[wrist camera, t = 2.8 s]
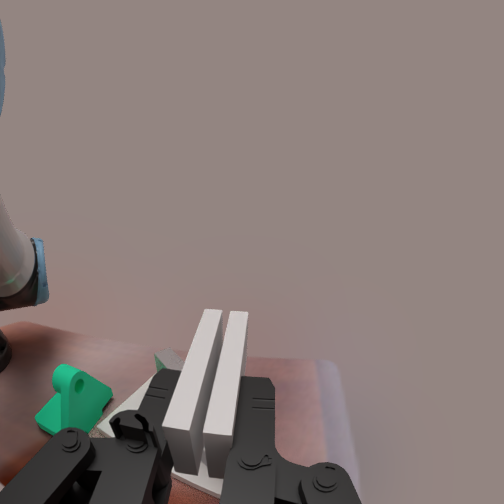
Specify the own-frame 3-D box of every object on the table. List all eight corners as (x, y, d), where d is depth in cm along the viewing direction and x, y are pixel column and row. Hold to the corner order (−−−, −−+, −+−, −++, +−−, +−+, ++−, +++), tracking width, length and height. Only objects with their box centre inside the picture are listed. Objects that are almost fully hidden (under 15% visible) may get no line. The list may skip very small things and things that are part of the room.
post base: (99, 432, 34) (93, 419, 33) (163, 374, 48) (160, 360, 47) (225, 501, 27) (224, 491, 26) (274, 415, 41) (276, 402, 40)
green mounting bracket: (79, 385, 42) (62, 336, 39) (114, 399, 41) (99, 349, 38) (39, 429, 31) (11, 380, 28) (75, 451, 30) (48, 402, 26)
